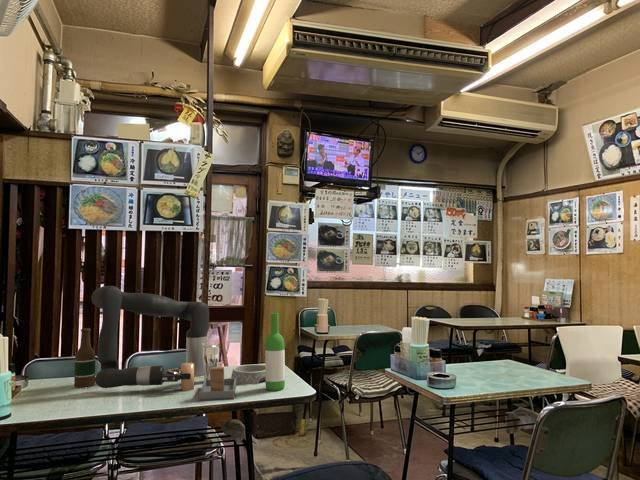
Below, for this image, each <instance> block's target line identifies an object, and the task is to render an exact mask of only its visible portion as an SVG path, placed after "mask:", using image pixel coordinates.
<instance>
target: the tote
mask: <svg viewBox="0 0 640 480" xmlns="http://www.w3.org/2000/svg"><path fill="white" fill-rule="evenodd" d="M203 381H204V380H203ZM236 389H237V384H236V378H231V377H230V378H224V391H211V379H207V380H205V381H204V382H203V384H202V385H201V387H200V390H199V392H198V401H218V400H220V401H221V400H234V399H235V395H236V391H237V390H236Z"/></svg>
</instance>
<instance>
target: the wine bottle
mask: <svg viewBox="0 0 640 480" xmlns="http://www.w3.org/2000/svg"><path fill="white" fill-rule="evenodd" d="M270 318H271V319H270V334H268V336H267V337H266V339H265V341H264V343H265V345H264V346H265V349H264V351H265V352H264V353H265V355H264V356H265V361H264V363H265V364H264V365H265V380H264V381H265V389H266V390H268V391H275V392H277V391H281V390H284V388H285V386H286V382H285V381H286V376H285V375H286V372H285V371H286V368H285V367H286V366H285V364H286V363H285V361H286V360H285V359H286V357H285V354H286V353H285V339H284V337H283V336H282V335H281V334H280V332H279V313H278V312H271V313H270Z"/></svg>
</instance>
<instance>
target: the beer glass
mask: <svg viewBox="0 0 640 480" xmlns="http://www.w3.org/2000/svg"><path fill="white" fill-rule="evenodd" d="M219 349H220V348H219V345H216V344H210V345H208V344H207V346H203V366H204V376H203V383H204V381H205V380H207V379H211V368H212V367H219V363H220V362H219V361H220V350H219Z"/></svg>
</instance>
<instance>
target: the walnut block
mask: <svg viewBox="0 0 640 480" xmlns="http://www.w3.org/2000/svg"><path fill="white" fill-rule="evenodd" d="M224 379H225V366H218V367H212V368H211V391H224Z"/></svg>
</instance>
